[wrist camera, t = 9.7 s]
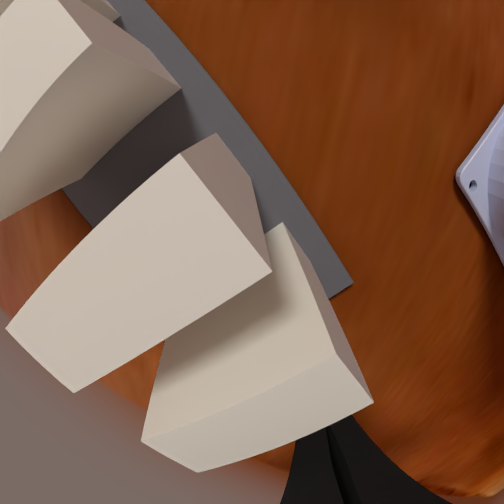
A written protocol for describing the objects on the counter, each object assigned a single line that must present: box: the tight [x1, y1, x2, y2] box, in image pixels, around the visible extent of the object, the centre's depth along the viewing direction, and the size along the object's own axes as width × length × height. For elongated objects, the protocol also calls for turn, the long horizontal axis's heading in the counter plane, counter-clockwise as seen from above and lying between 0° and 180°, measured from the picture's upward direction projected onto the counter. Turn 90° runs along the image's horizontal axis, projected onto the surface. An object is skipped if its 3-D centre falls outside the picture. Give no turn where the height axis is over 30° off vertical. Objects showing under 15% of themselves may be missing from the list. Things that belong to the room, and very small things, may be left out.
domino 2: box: [6, 133, 272, 393], centre depth 8 cm, size 2×5×7 cm, turn 126°
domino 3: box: [141, 222, 374, 472], centre depth 9 cm, size 2×5×7 cm, turn 126°
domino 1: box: [0, 0, 181, 221], centre depth 6 cm, size 2×5×7 cm, turn 126°
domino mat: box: [61, 0, 354, 299], centre depth 10 cm, size 22×7×1 cm, turn 36°
